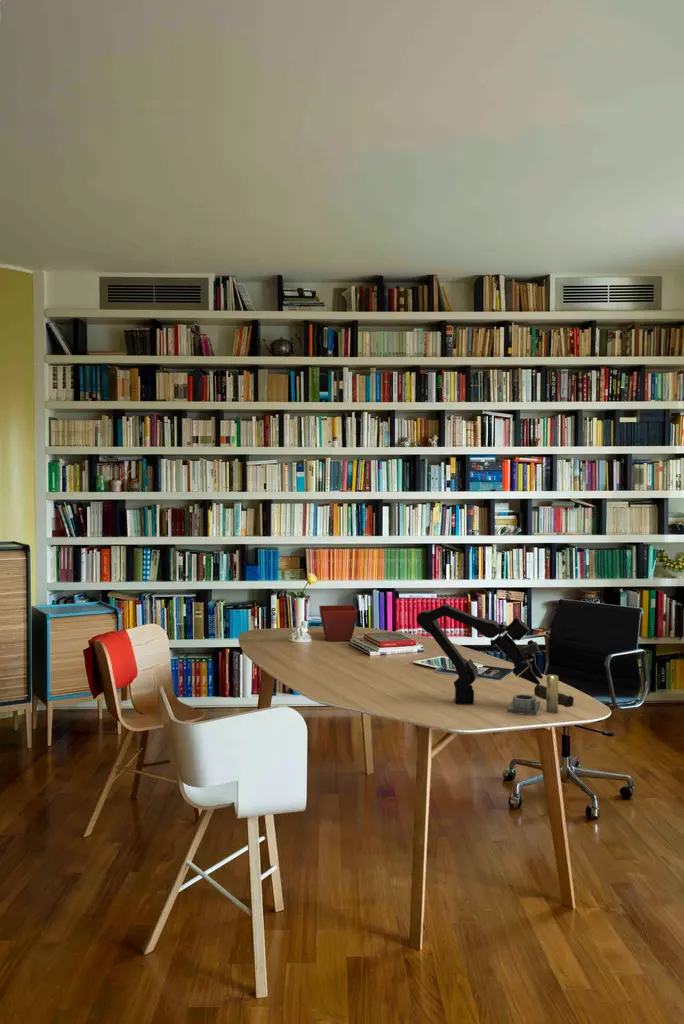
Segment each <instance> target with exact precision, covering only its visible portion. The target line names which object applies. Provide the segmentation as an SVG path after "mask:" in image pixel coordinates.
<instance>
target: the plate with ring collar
mask: <svg viewBox="0 0 684 1024" xmlns="http://www.w3.org/2000/svg"><path fill="white" fill-rule="evenodd" d="M540 707H541V701H537V697H535V695H531V694H524V693H523V694H518V693H517V694H515V695H514V694H513V696H512V701H511V702H510V704H509V706H508V707H507V709H506V712H507V713H509V712H516V713H515V714H519V713H524V714H523V715H528V714H532V715H531V716H537V715H538V712H539V709H540Z"/></svg>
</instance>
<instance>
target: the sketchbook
mask: <svg viewBox="0 0 684 1024" xmlns="http://www.w3.org/2000/svg"><path fill="white" fill-rule="evenodd" d="M482 665H483V664H482ZM443 666H444V664H443ZM443 666H442V665H440V666H438V667H437V668H435V669H434V670H433V672H434V673H435V674H440V673H441V675H448V674H449V675H448V676H456V675H458V674H457V672H456V670H454V669H448V668H442V667H443ZM476 669H477V670H478V677H477V678H476V679H479V678H486V679H485V680H487V679H493V680H492V681H495V680H501V679H502V678H504V677H505V676H506V675H508V674H509V675H510V673H511V672H512V673H513V668H508V667H507V668H506V667H499V666H492V665H483V667H481V668H476ZM512 673H511V674H512ZM509 675H508V676H509ZM506 677H507V676H506ZM506 677H505V678H506ZM505 678H504V679H505ZM502 680H503V679H502ZM502 680H501V681H502Z"/></svg>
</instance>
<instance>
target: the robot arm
mask: <svg viewBox="0 0 684 1024" xmlns="http://www.w3.org/2000/svg"><path fill="white" fill-rule="evenodd" d="M443 617H446V618H447V617H448V618H449V619H452V620H454V621H457V622H458V623H462V624H464V625H467V626H469V627H471V628H472V629H475V630H476V631H477V632H478V633H479V634H481V635H482V636H484V637H485V638H487V639H488V638H489V639H491V640H490V641H489V642H490V648H491V649H493V648H494V647H495V646H496V647H497V648H498V649H499V650H500V651H501V652H502V654H504V655H505V659H507V660H510V662H511V663H512V664H513V668H512V669H513V672H512V673H513V675H515V677H518V678H521V679H523V680H526V681H529V682H530V683H533V684H534V685H541V682H540V681H539V679H540V680H542V679H544V676H543V675H542V672H541V671H540V669H539V667H538V666H537V663H536V660H537V659H536V658H537V657H536V655H535V654H536V653H538V652H540V648H539V644H538V643H537V641H534V640H532V639H530V640H528V641H527V644H525V645H524V646H522V645H521V644H517V643H516V642H515V641H516V640H517V641H520V640H521V639H523V637H524V636H526V635H527V634H528V633H529V632H530V631H531V628H530V627H529V626H528V624H527V623H526V622H525V621H523V620H522V619H520V618H519V617H517V616H516V617H515V618H513V620H512V621H511V622H510V623H509V624H508V625H507V624H501V623H499V621H496V620H493V619H489V618H484V617H479V616H476V615H473V614H471V613H468V612H466V611H465V610H461V609H459V608H456V607H454V606H452V605H450V604H447V603H445V604H443V605H441V606H438V607H437V608H434V609H431V610H430V609H425V610H423V611H421V612H419V613H418V614H417V616H416V623H417V625H419V626H420V627H421V629H423V630H424V631H425V632H427V634H429V635H431V637H432V638H433V639H434V641H435V642H436V644H437V645H438V646H439V647H440V649H441V650H442V651H443V652H444V654H445V655H446V656H447V657H448V659H449V660H450V661H451V662H452V663H453V664H454V666H455V669H456V672H457V674H458V676H457V679H455V681H454V682H453V685H454V698H453V701H454V703H455V704H456V705H474V701H475V690H474V689H473V685H472V684H474V682H475V681H476V679H478V678H477V677H478V670H477V669H476V668H477V666H475V665H474V664H475V663H474V662H473V660H472V659H471V658H469V659H468V660H467V659H465V658H464V657H463V656H462V654H461V653H460V651H459V650H458V649H457V647H456V646H455V645H454V644H453V642H452V641H451V640H450V638H449V637H448V636H447V635H446V633H445V631H443V629H442V628H441V626H440V623H439V620H438V619H440V618H443ZM497 635H498V636H497ZM493 638H494V639H493Z"/></svg>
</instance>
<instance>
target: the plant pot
mask: <svg viewBox="0 0 684 1024" xmlns="http://www.w3.org/2000/svg"><path fill="white" fill-rule="evenodd" d="M318 610H319V614H320V615H319V616H320V622H321V625H322V629H323V633H324V637H325V639H326V642H347V641H346V640H350V639H351V638H353V636H354V631H355V628H356V627H355V626H356V622H357V615H358V609H357V608H356V607H355V605H354V604H346V605H345V604H343V605H341V604H340V605H339V604H337V605H319V609H318ZM351 640H352V639H351Z"/></svg>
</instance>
